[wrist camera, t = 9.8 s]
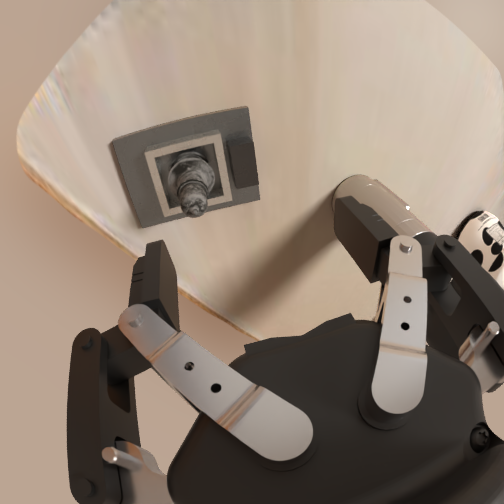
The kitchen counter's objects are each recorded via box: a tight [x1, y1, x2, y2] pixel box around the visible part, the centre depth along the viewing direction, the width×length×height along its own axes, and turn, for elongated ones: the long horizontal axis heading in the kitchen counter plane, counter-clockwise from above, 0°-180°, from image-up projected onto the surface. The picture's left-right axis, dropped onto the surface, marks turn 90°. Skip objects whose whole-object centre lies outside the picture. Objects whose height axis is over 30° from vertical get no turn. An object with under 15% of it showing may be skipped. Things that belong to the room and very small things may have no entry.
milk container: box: [457, 211, 504, 289], centre depth 56 cm, size 17×17×18 cm
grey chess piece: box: [168, 151, 215, 218], centre depth 32 cm, size 6×6×12 cm
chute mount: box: [112, 106, 260, 228], centre depth 36 cm, size 18×14×4 cm
